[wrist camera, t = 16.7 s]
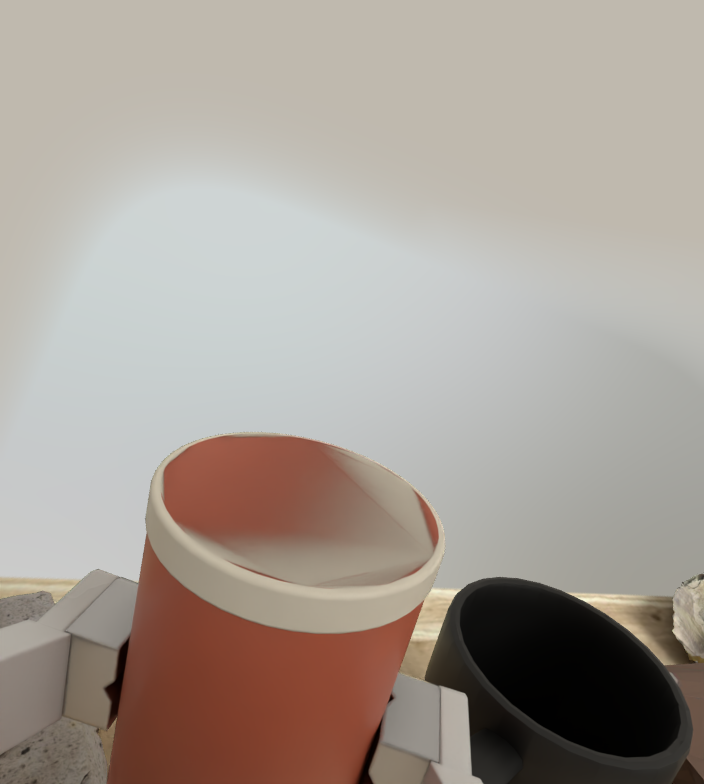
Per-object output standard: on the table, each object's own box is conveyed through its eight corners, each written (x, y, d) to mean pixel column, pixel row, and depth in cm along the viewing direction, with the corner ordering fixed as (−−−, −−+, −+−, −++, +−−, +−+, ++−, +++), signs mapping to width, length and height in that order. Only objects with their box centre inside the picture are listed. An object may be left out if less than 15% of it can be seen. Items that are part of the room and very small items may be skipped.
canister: (346, 920, 12) (496, 530, 9) (157, 1165, 8) (302, 656, 5) (222, 761, 14) (306, 418, 11) (38, 898, 11) (90, 453, 8)
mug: (258, 881, 18) (319, 665, 16) (455, 713, 27) (517, 554, 24) (448, 1199, 13) (592, 961, 10) (617, 866, 22) (721, 686, 19)
